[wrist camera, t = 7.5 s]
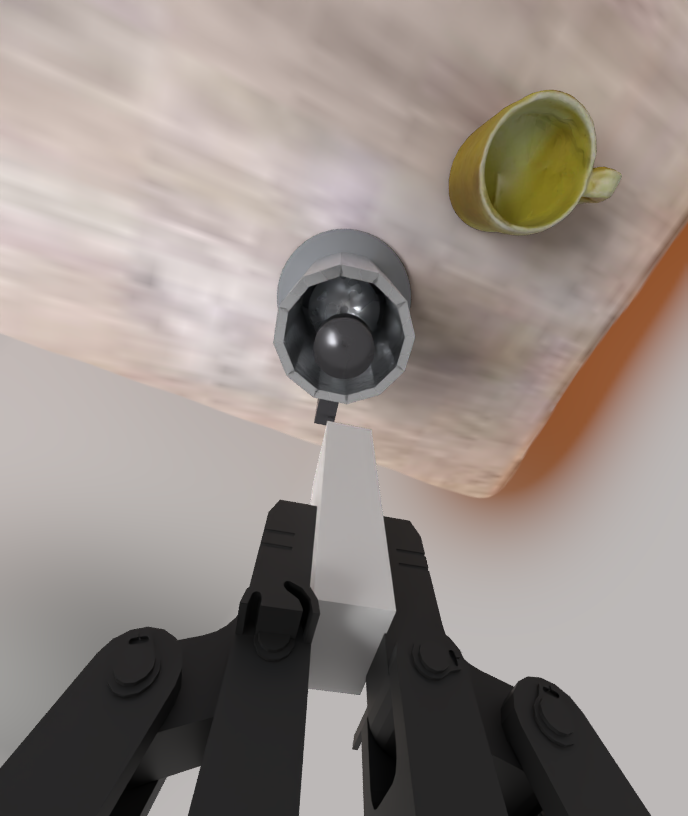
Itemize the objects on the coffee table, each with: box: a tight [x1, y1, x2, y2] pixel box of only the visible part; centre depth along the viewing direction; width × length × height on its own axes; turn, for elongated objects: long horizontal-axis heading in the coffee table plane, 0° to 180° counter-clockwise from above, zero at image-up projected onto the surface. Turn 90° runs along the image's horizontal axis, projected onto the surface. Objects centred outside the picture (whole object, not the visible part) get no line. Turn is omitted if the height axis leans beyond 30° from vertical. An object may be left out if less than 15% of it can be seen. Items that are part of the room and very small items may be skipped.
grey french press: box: [273, 251, 415, 425], centre depth 34 cm, size 13×10×14 cm
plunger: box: [308, 276, 380, 379], centre depth 31 cm, size 7×7×13 cm
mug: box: [449, 90, 622, 235], centre depth 32 cm, size 12×10×10 cm
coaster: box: [277, 229, 411, 312], centre depth 40 cm, size 14×14×1 cm
